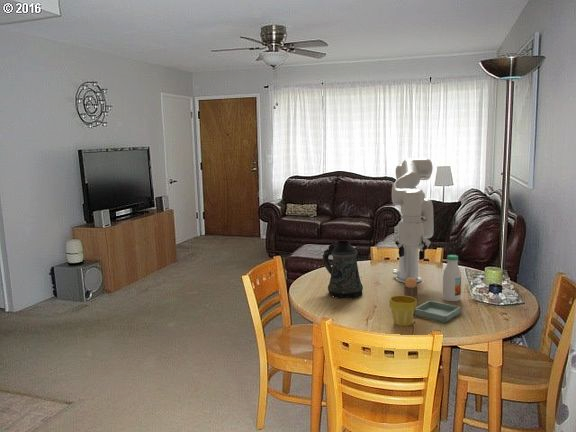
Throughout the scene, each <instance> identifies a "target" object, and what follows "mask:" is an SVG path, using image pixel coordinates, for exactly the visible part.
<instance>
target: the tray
mask: <svg viewBox="0 0 576 432" xmlns="http://www.w3.org/2000/svg"><path fill="white" fill-rule="evenodd" d="M459 314H460V315H461V314H462V307H461V306H458V305H454V304H448V303H445V302H440V301H434V300H428V301H425V302H423V303H422V304H419V305H418V306H417V307H416V309H415V310H414V314H413V317H414V316H415V317H418V318H419V317H420V318H422V319H427V320H431V321H433V322H438V323H442V324H447V323H449V322H450V321H452V320H454V319H455V318H456V316H457V317H458V316H460V315H459Z"/></svg>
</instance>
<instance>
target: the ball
mask: <svg viewBox="0 0 576 432" xmlns="http://www.w3.org/2000/svg"><path fill="white" fill-rule="evenodd" d="M417 283H418V282H416V280H415V279H414V278H412V277H410V278H407V279H406V281H405V283H404V284H405V287H407V288H412V289H413V288H415V287H416V286H417Z"/></svg>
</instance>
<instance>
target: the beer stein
mask: <svg viewBox="0 0 576 432" xmlns="http://www.w3.org/2000/svg"><path fill="white" fill-rule="evenodd" d="M358 253H359V251H358V250H357V248H355V246H353V245H352V244H351V243H350V242H349V241H348V240H338V241H337V242H335V243H330V245H329V246H328V249H325V250H324V251H323V255H322V262H323V265H324V268H325V269H326V271H327V272H328V273H329V274H330V279H329V283H328V284H327V285H328V286H327V289H328V290H327V291H328V294H330V295H331V296H330V295H329V296H330V297H332V296H334V297H333V298H335V297H338V298H337V299H340V298H352V299H356V297H357V298H360V297H361V296H362V295H363V290H364V289H363V288H364V287H363V284H362V282H361V277H360V272H359V267H358V260H357V256H358ZM330 256H332V263H330V260H329V257H330ZM359 296H360V297H359Z"/></svg>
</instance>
